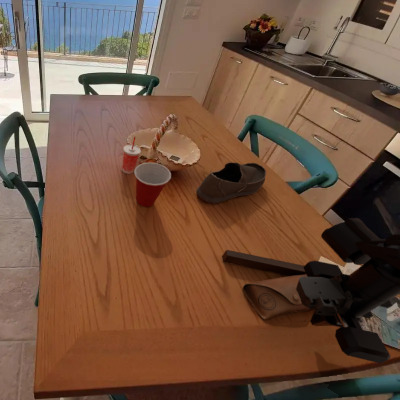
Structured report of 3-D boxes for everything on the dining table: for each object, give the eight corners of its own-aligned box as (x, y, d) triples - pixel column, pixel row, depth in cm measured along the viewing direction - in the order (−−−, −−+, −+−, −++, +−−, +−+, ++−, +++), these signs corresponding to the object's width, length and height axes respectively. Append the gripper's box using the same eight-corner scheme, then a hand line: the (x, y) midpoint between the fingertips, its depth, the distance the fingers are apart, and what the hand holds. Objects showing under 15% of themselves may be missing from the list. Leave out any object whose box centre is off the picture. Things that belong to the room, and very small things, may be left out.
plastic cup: (122, 193, 90) (128, 164, 82) (150, 188, 93) (158, 159, 85) (137, 216, 83) (146, 186, 75) (167, 209, 86) (178, 179, 78)
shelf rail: (328, 284, 68) (337, 278, 66) (222, 262, 72) (227, 255, 70) (325, 278, 70) (333, 271, 68) (221, 256, 73) (226, 249, 71)
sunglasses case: (265, 322, 60) (268, 295, 58) (240, 304, 66) (242, 279, 65) (330, 308, 63) (334, 282, 61) (300, 292, 70) (303, 269, 68)
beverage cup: (120, 164, 103) (126, 131, 94) (136, 166, 102) (144, 133, 93) (118, 173, 99) (125, 139, 89) (135, 176, 98) (143, 142, 88)
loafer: (269, 186, 98) (285, 162, 91) (216, 213, 86) (230, 188, 78) (242, 170, 104) (256, 146, 97) (190, 193, 92) (201, 168, 85)
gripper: (300, 236, 55) (261, 277, 65) (346, 326, 41) (287, 360, 51) (361, 248, 53) (311, 288, 64) (429, 346, 39) (351, 377, 50)
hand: (313, 323), depth 57 cm, fingers closed
